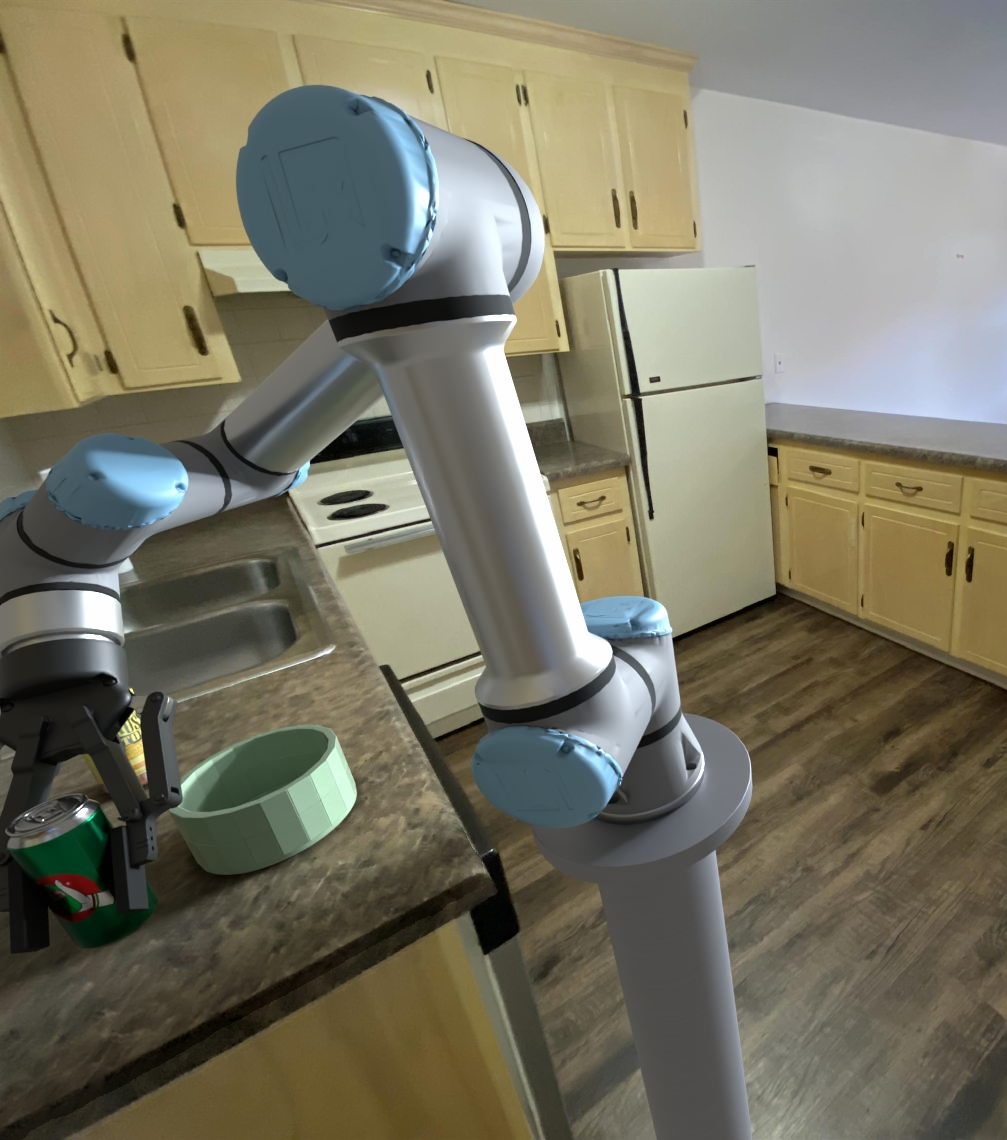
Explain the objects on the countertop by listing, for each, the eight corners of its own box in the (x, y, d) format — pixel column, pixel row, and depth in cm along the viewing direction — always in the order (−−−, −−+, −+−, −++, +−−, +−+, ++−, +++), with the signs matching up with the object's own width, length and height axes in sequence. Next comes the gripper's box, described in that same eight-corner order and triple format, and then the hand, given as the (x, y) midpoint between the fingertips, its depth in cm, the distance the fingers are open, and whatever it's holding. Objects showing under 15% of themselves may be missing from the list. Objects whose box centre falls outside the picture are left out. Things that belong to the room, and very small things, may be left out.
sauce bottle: (142, 794, 75) (60, 650, 67) (89, 799, 75) (1, 656, 67) (185, 758, 81) (114, 623, 73) (135, 763, 81) (59, 628, 73)
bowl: (358, 759, 78) (339, 710, 75) (355, 833, 66) (332, 778, 63) (213, 807, 72) (186, 755, 69) (181, 899, 60) (146, 840, 57)
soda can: (142, 891, 54) (74, 783, 50) (174, 908, 52) (106, 797, 48) (66, 942, 50) (-17, 829, 46) (98, 962, 48) (15, 846, 44)
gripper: (212, 637, 61) (249, 875, 54) (-51, 701, 53) (-49, 989, 46) (175, 608, 55) (210, 872, 48) (-130, 674, 47) (-142, 1004, 40)
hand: (83, 929), depth 47 cm, fingers closed on soda can, 5 cm apart
